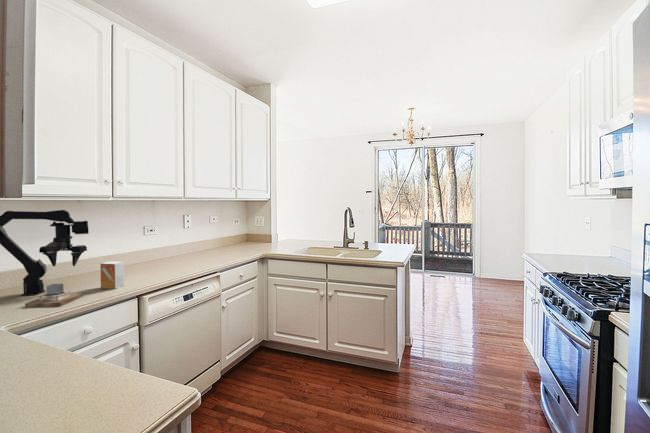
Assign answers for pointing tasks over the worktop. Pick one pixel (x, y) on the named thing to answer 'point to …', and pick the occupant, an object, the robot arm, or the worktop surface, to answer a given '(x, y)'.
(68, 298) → the holder board
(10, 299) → the worktop surface
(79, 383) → the worktop surface
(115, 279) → the small box
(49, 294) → the steel pin
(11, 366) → the worktop surface
